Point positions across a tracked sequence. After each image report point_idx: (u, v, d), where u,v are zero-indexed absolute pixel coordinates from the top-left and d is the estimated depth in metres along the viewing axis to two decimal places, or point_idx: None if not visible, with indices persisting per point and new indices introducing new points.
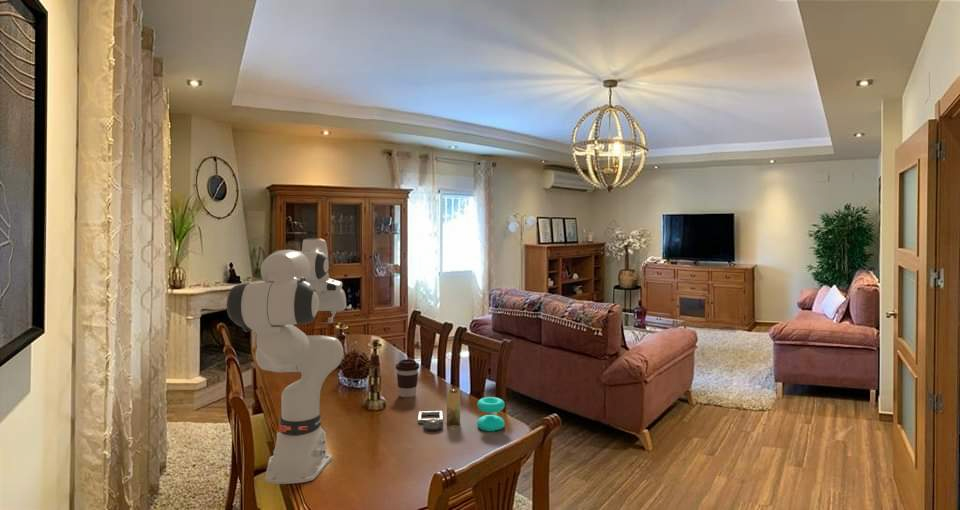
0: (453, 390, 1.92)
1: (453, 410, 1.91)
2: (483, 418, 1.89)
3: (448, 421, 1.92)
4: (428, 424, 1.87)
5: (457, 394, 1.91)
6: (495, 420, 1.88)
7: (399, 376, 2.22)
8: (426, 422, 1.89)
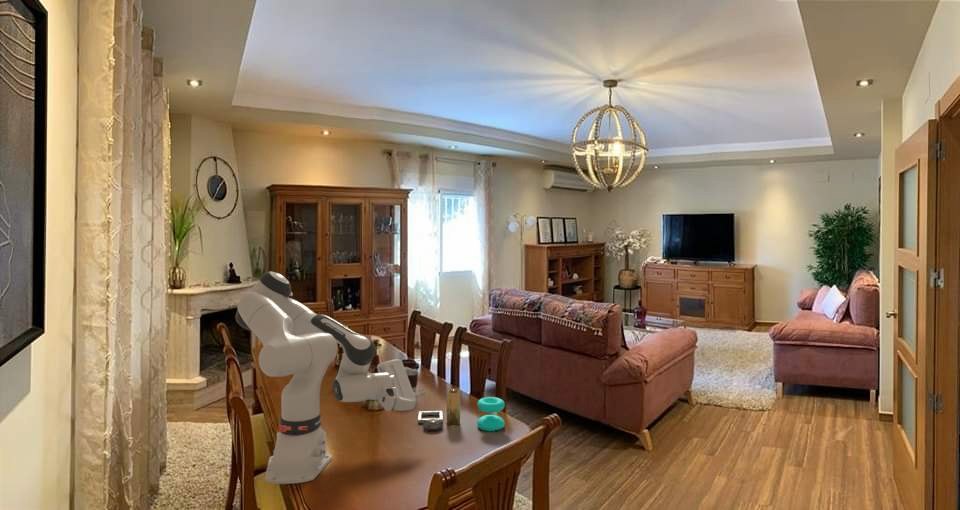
0: (453, 390, 1.92)
1: (453, 410, 1.91)
2: (483, 418, 1.89)
3: (448, 421, 1.92)
4: (428, 424, 1.87)
5: (457, 394, 1.91)
6: (495, 420, 1.88)
7: None
8: (426, 422, 1.89)
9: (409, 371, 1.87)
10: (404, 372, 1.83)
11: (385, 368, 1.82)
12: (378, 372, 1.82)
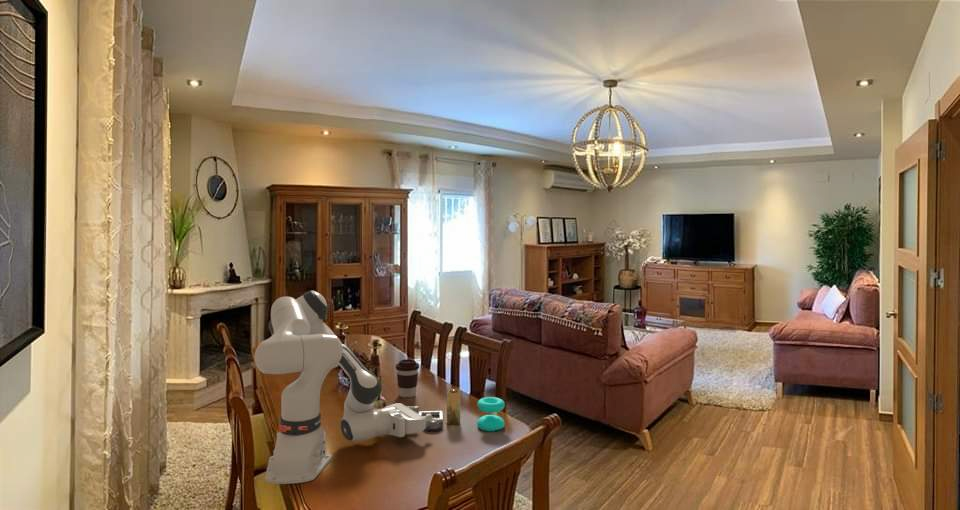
0: (453, 390, 1.93)
1: (453, 410, 1.91)
2: (483, 418, 1.89)
3: (448, 421, 1.92)
4: (428, 424, 1.87)
5: (457, 394, 1.91)
6: (495, 420, 1.88)
7: (399, 376, 2.22)
8: (426, 422, 1.89)
9: (411, 409, 1.89)
10: (406, 407, 1.86)
11: None
12: None
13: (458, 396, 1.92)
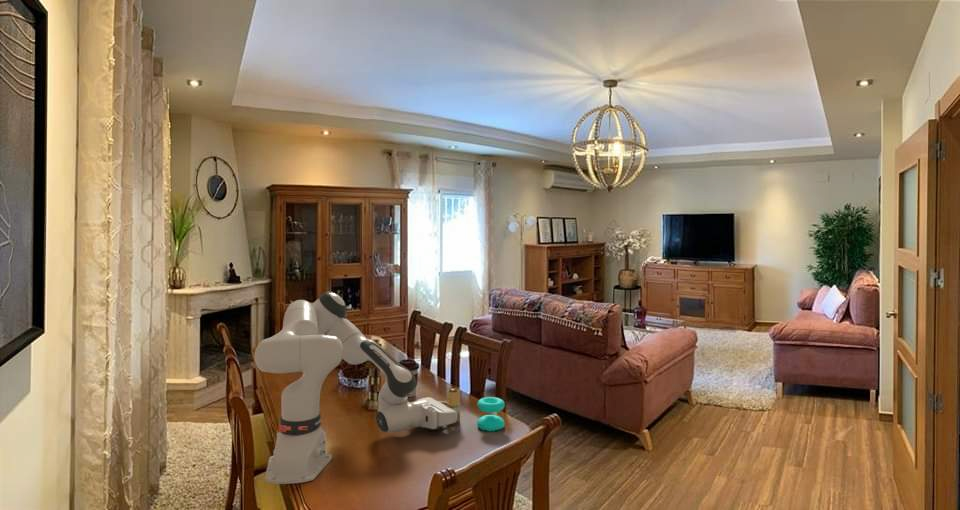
0: (453, 389, 1.93)
1: None
2: (483, 418, 1.89)
3: None
4: None
5: (457, 393, 1.91)
6: (495, 420, 1.88)
7: None
8: None
9: None
10: (437, 401, 1.93)
11: None
12: None
13: (457, 395, 1.92)
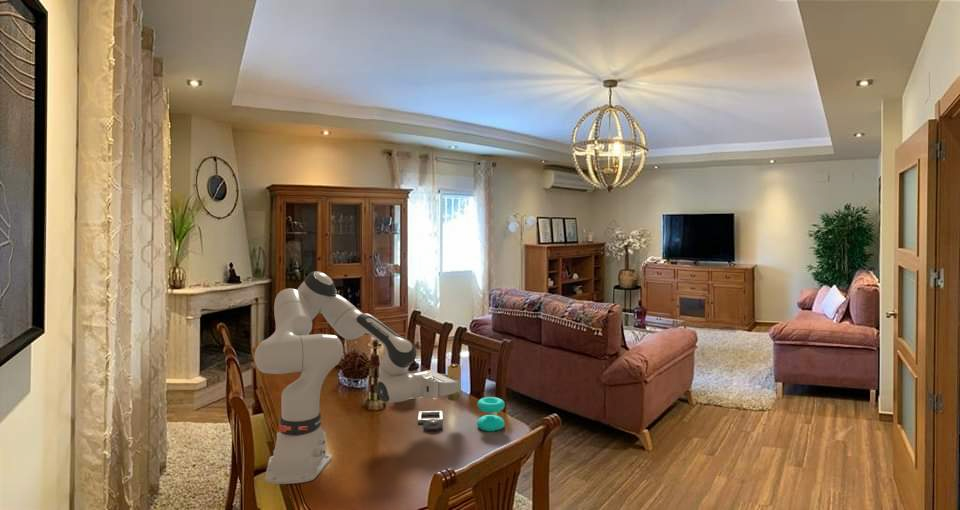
0: (454, 365, 1.92)
1: None
2: (483, 418, 1.89)
3: (448, 396, 1.92)
4: (428, 424, 1.87)
5: (458, 369, 1.91)
6: (495, 420, 1.88)
7: None
8: (426, 422, 1.89)
9: None
10: (437, 373, 1.93)
11: None
12: None
13: (459, 371, 1.91)
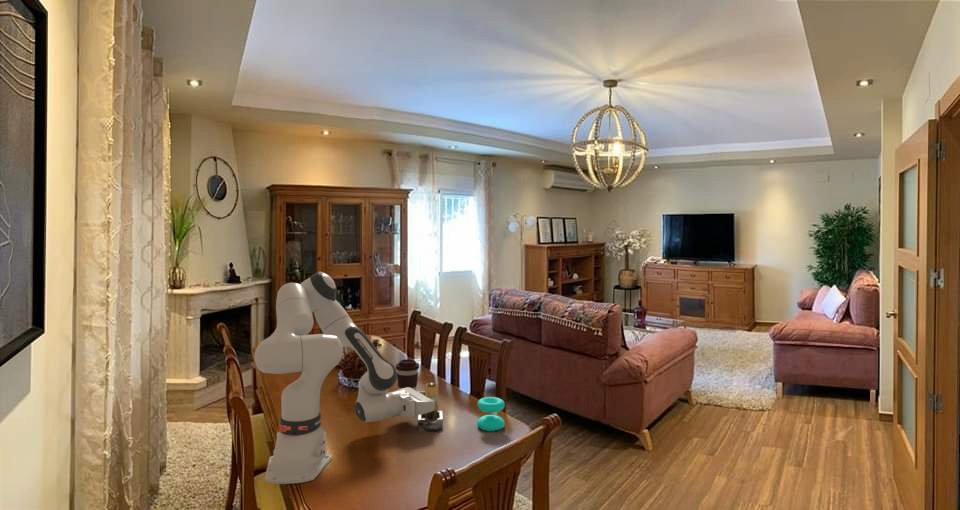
0: (431, 384, 1.96)
1: None
2: (483, 418, 1.89)
3: (426, 413, 1.97)
4: (428, 424, 1.87)
5: (435, 388, 1.95)
6: (495, 420, 1.88)
7: (399, 376, 2.22)
8: (426, 422, 1.89)
9: (422, 394, 2.00)
10: (415, 391, 1.97)
11: None
12: None
13: (436, 390, 1.95)
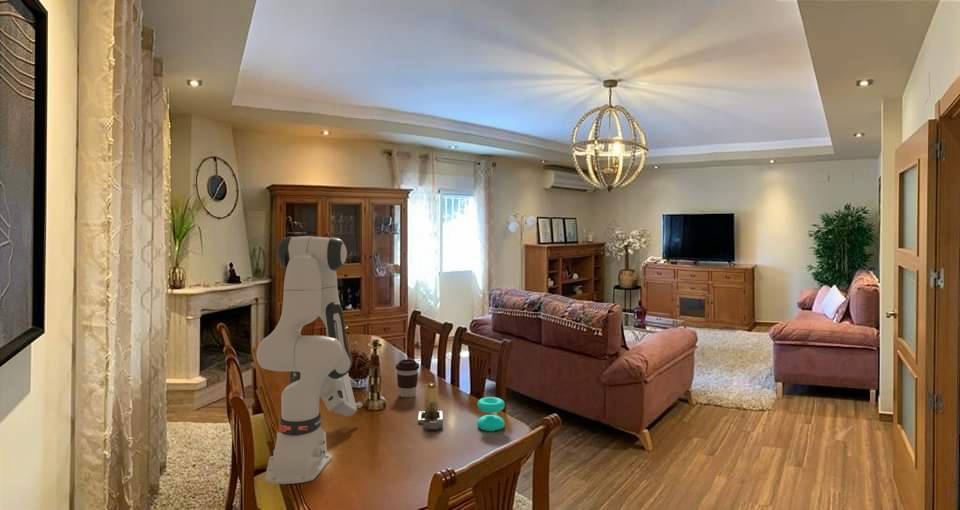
0: (431, 385, 1.96)
1: (431, 404, 1.95)
2: (483, 418, 1.89)
3: (426, 413, 1.97)
4: (428, 424, 1.87)
5: (435, 389, 1.95)
6: (495, 420, 1.88)
7: (399, 376, 2.22)
8: (426, 422, 1.89)
9: (350, 382, 2.00)
10: (349, 381, 1.96)
11: None
12: None
13: (436, 391, 1.95)
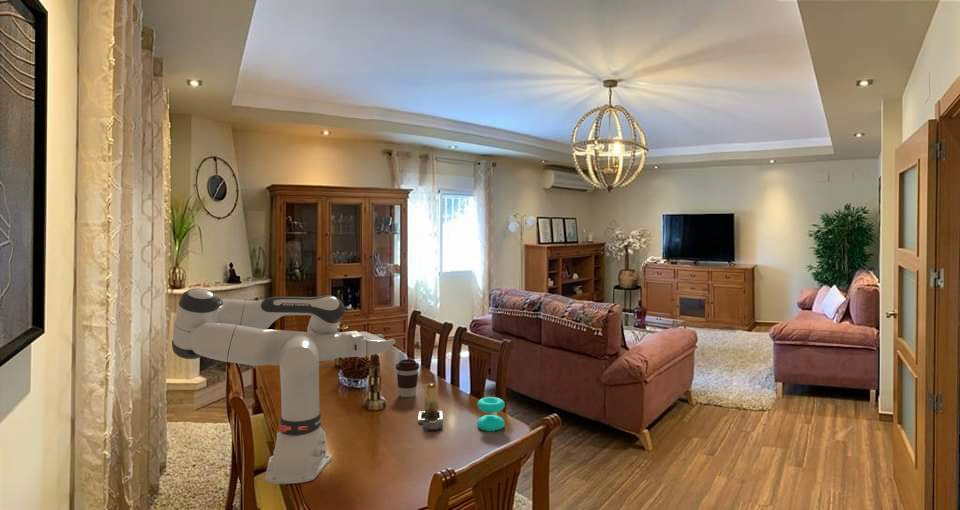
0: (431, 385, 1.96)
1: (431, 404, 1.95)
2: (483, 418, 1.89)
3: (426, 413, 1.97)
4: (428, 424, 1.87)
5: (435, 389, 1.95)
6: (495, 420, 1.88)
7: (399, 376, 2.22)
8: (426, 422, 1.89)
9: None
10: (370, 334, 1.88)
11: None
12: None
13: (436, 391, 1.95)
